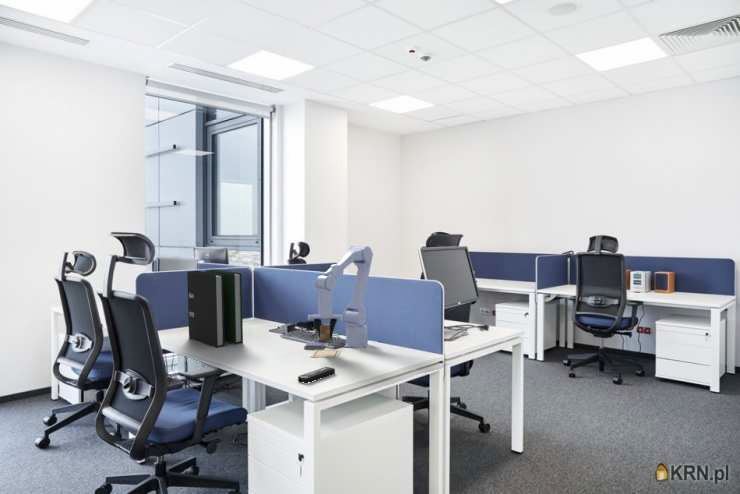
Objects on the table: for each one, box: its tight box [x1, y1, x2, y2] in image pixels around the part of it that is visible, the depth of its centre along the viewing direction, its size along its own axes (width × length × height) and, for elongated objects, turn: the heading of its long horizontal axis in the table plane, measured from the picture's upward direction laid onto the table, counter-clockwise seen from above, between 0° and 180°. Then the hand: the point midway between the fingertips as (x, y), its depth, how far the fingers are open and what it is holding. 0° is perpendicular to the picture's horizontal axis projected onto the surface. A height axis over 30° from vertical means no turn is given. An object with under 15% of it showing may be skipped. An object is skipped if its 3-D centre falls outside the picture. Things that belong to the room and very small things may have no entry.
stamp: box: [318, 323, 334, 344], centre depth 207 cm, size 5×5×7 cm
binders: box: [186, 269, 244, 349], centre depth 232 cm, size 27×15×32 cm, turn 44°
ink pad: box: [303, 342, 325, 350], centre depth 218 cm, size 8×6×2 cm
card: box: [310, 349, 342, 358], centre depth 207 cm, size 11×11×1 cm
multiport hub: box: [297, 366, 336, 384], centre depth 175 cm, size 4×14×2 cm, turn 142°
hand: (325, 337), depth 207 cm, fingers closed on stamp, 4 cm apart
